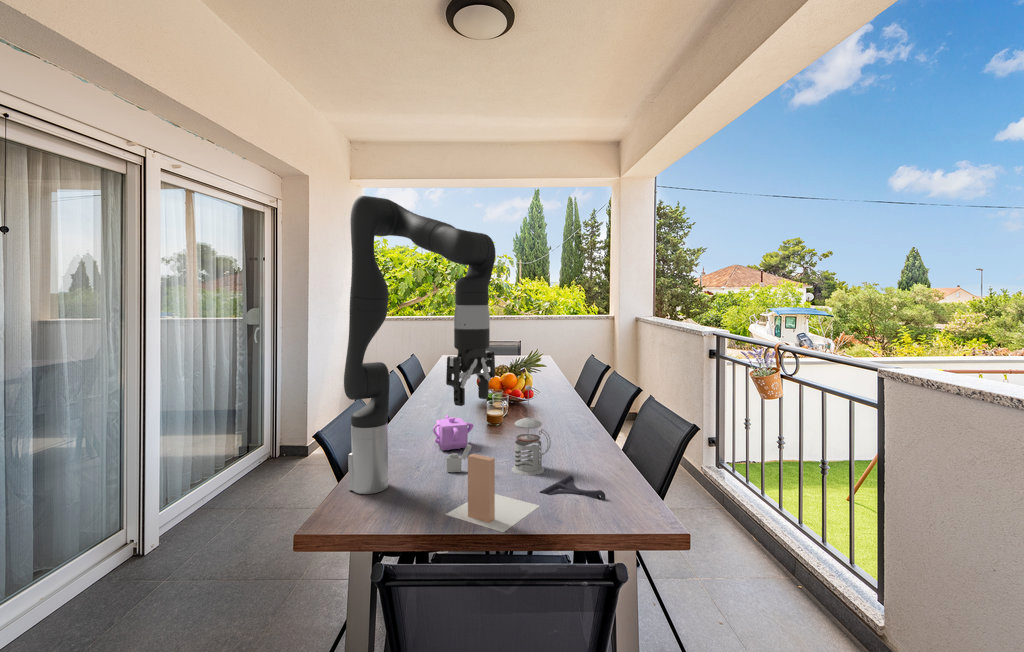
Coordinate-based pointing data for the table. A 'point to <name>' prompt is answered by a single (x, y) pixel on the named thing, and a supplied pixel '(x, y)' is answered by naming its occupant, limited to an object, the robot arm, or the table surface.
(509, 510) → the mat
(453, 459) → the lighter
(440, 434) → the teapot
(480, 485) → the tile
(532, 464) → the french press
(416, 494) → the table surface
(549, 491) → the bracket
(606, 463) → the table surface
